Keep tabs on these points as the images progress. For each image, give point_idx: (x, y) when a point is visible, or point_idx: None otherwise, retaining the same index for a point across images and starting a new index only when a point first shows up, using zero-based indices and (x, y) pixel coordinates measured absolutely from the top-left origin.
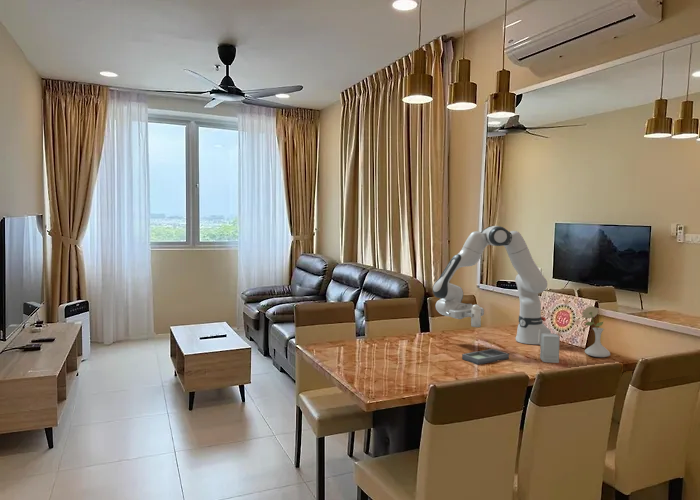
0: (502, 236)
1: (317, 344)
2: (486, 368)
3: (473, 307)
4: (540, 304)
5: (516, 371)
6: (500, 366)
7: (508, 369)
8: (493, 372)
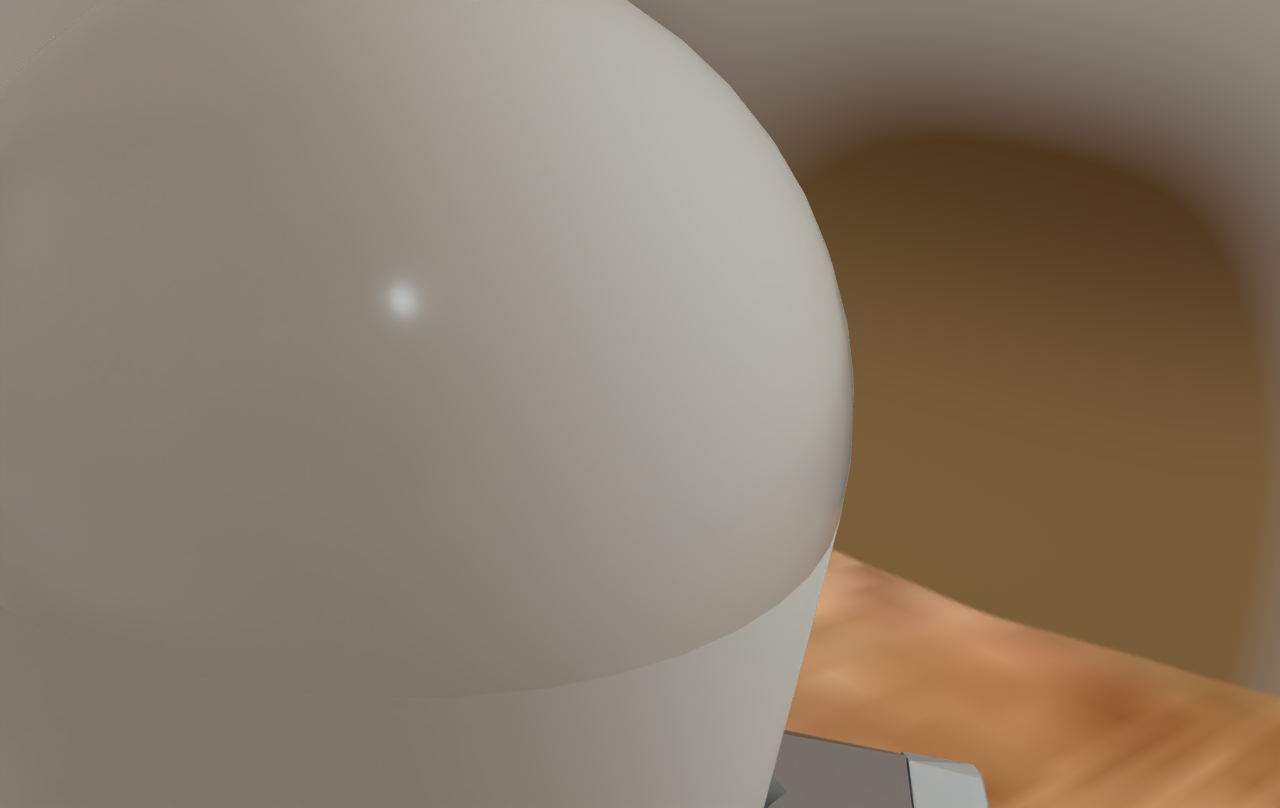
0: None
1: None
2: (1132, 798)
3: (835, 282)
4: None
5: (860, 581)
6: (887, 729)
7: (887, 642)
8: (1135, 695)
